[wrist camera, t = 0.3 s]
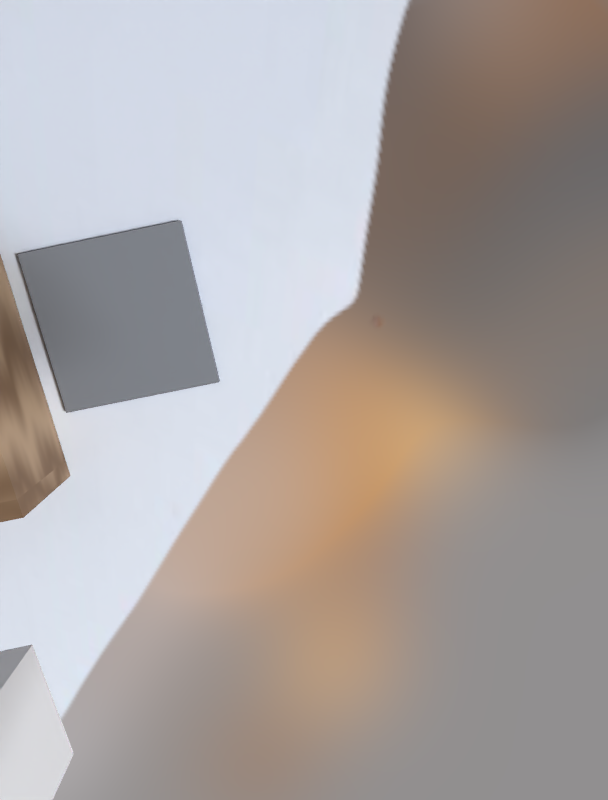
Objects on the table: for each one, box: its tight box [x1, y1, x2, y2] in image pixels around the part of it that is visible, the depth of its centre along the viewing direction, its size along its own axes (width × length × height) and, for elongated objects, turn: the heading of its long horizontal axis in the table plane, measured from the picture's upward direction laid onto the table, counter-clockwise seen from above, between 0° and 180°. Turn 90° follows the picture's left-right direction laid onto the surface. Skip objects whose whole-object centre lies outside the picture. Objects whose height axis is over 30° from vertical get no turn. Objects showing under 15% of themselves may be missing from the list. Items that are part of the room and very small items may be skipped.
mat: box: [18, 221, 220, 413], centre depth 36 cm, size 11×11×1 cm
